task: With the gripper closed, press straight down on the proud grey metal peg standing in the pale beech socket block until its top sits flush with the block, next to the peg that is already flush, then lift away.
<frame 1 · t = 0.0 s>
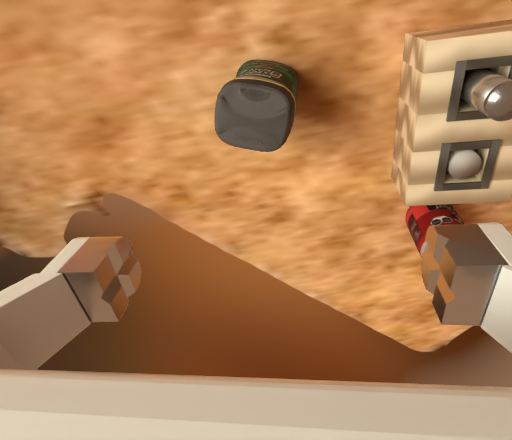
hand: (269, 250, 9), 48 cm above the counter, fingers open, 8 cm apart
peg: (486, 91, 40), point 11 cm above the counter, slide at 0.0 cm
socket block: (445, 108, 51), on the counter
canned food: (426, 212, 62), on the counter
coffee jar: (266, 85, 53), on the counter
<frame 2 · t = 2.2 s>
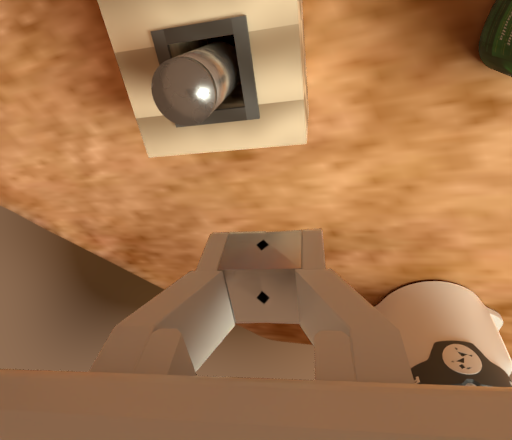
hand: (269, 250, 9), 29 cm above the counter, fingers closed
peg: (205, 78, 25), point 11 cm above the counter, slide at 0.0 cm
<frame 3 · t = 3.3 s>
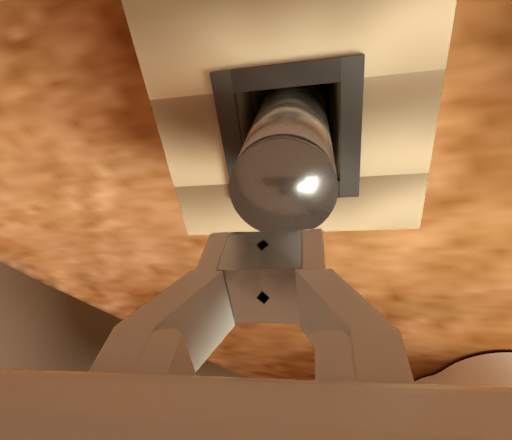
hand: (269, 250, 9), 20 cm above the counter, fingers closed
peg: (288, 143, 16), point 11 cm above the counter, slide at 0.0 cm
socket block: (291, 15, 23), on the counter
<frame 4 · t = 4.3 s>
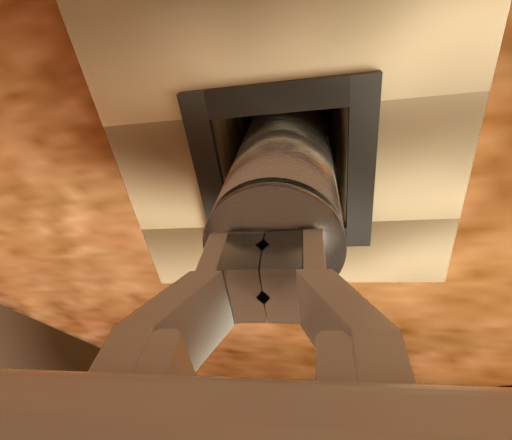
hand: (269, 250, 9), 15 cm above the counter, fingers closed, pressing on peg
peg: (283, 173, 14), point 10 cm above the counter, slide at 1.0 cm, touching gripper
socket block: (285, 17, 19), on the counter
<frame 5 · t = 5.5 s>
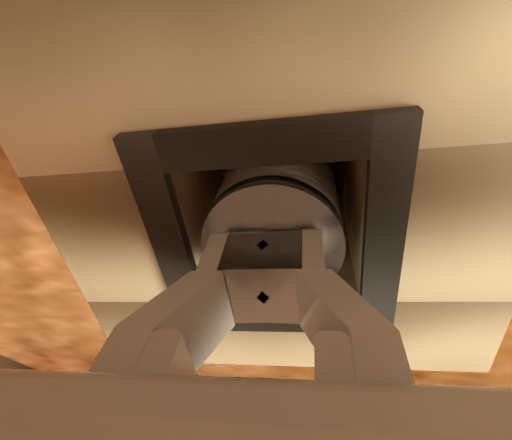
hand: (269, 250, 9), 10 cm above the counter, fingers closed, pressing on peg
peg: (281, 172, 13), point 5 cm above the counter, slide at 5.6 cm, touching gripper
socket block: (278, 20, 15), on the counter
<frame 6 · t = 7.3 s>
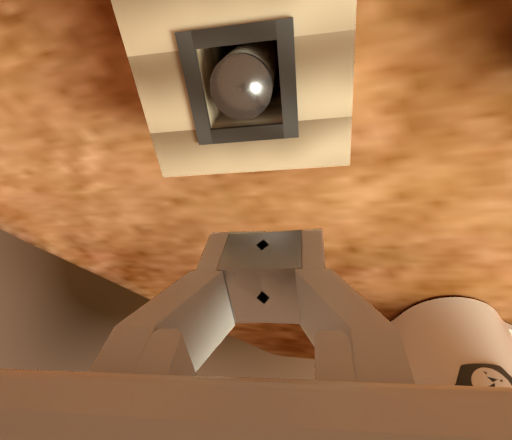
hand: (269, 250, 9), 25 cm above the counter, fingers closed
peg: (249, 72, 25), point 5 cm above the counter, slide at 5.6 cm
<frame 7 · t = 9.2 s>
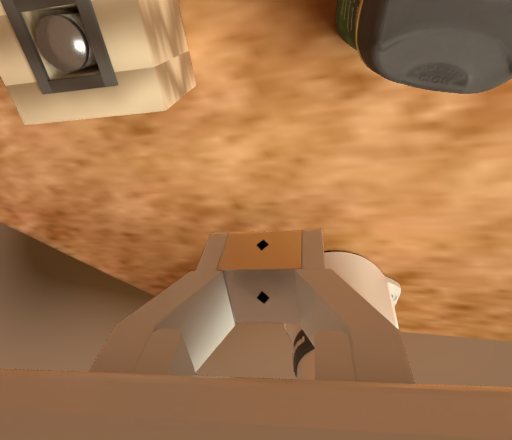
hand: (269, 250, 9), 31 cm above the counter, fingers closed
peg: (93, 38, 31), point 5 cm above the counter, slide at 5.6 cm
coffee jar: (388, 5, 32), on the counter
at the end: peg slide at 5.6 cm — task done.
